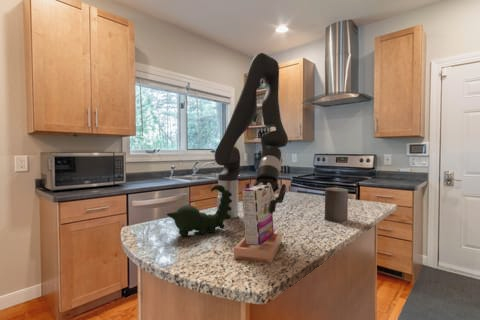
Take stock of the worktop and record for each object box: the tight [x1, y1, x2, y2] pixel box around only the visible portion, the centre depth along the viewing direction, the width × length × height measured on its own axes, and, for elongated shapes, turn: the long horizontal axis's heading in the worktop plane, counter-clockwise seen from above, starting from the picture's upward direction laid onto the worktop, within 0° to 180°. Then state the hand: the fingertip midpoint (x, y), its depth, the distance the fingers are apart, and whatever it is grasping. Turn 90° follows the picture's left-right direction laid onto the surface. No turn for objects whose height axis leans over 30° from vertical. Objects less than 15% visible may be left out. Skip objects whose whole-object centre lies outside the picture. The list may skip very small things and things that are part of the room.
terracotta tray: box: [233, 232, 283, 263], centre depth 82 cm, size 11×17×3 cm, turn 162°
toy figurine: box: [166, 184, 232, 238], centre depth 99 cm, size 9×19×25 cm
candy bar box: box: [241, 185, 275, 246], centre depth 82 cm, size 11×5×16 cm, turn 150°
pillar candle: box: [324, 187, 349, 223], centre depth 117 cm, size 10×10×15 cm
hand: (261, 211), depth 83 cm, fingers closed on candy bar box, 5 cm apart
